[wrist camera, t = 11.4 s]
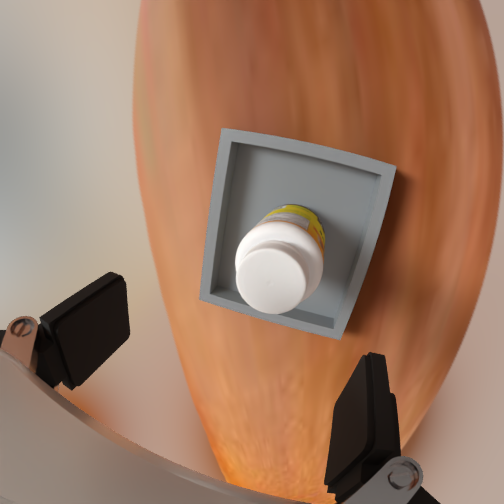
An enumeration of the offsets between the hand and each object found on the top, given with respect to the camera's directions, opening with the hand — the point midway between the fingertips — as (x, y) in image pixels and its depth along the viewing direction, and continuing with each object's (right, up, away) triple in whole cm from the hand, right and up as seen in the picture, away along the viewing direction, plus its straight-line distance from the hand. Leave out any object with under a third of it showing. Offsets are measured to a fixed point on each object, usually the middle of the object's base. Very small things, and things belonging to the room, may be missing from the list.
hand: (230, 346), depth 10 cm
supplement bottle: (+4, +5, +15) cm, 16 cm away
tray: (+4, +5, +15) cm, 17 cm away
